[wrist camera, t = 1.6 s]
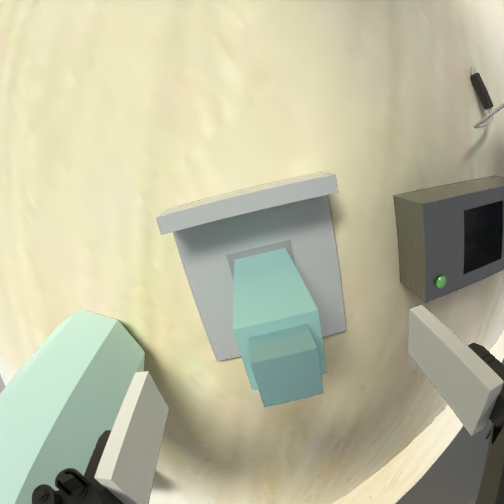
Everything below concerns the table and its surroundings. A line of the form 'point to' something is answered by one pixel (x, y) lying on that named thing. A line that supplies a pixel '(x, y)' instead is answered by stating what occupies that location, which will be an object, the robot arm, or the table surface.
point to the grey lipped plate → (258, 248)
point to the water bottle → (64, 402)
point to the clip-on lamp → (483, 98)
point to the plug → (277, 328)
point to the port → (450, 235)
